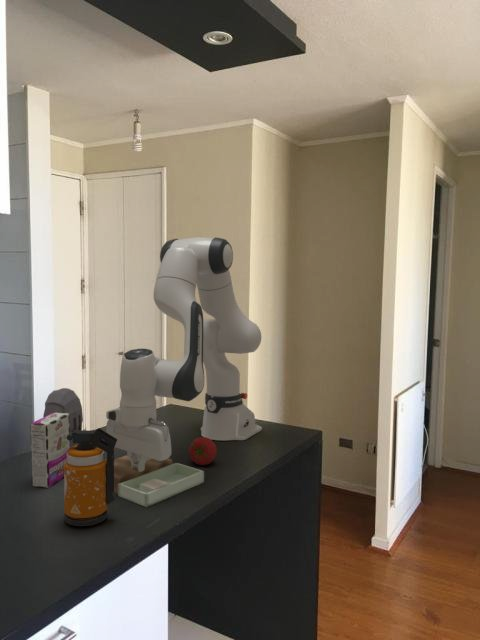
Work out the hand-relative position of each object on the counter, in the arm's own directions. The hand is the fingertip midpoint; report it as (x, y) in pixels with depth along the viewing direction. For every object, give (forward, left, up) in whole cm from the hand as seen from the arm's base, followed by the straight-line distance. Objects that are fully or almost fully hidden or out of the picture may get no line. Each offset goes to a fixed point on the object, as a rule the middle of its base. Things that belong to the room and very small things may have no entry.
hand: (138, 470), depth 136 cm
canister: (+18, +5, -5) cm, 19 cm away
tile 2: (-8, -8, -1) cm, 11 cm away
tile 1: (0, +6, -2) cm, 6 cm away
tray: (-4, +4, -5) cm, 8 cm away
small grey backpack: (-4, -36, -5) cm, 37 cm away
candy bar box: (+10, -22, -5) cm, 25 cm away
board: (-4, -7, -5) cm, 9 cm away
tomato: (-24, 0, -5) cm, 25 cm away
